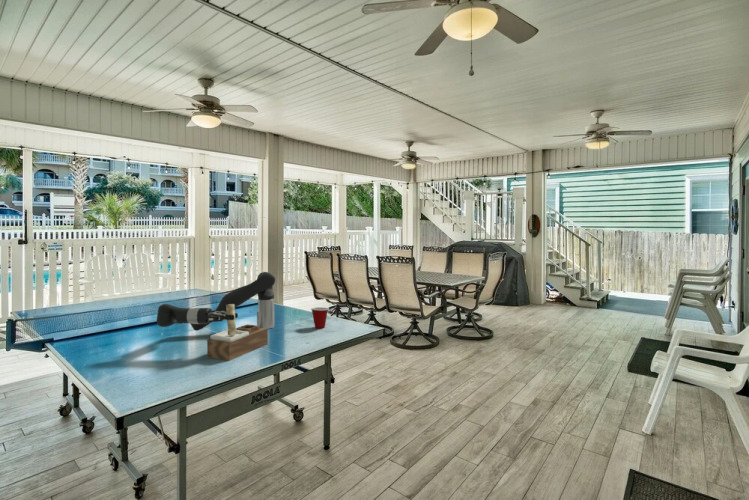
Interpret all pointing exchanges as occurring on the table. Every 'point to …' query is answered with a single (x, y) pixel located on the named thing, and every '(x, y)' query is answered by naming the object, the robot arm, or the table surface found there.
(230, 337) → the tray
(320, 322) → the plastic cup
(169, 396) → the table surface
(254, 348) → the wooden block with recesses
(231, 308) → the dowel
